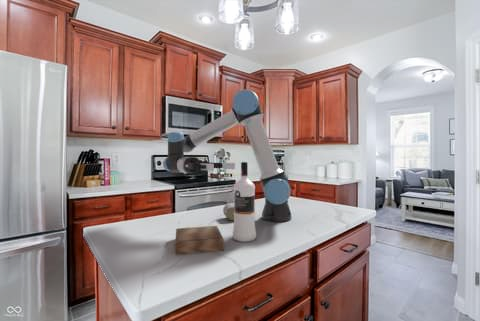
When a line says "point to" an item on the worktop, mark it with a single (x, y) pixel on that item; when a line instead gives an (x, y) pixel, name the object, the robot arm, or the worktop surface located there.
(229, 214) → the ceramic mug
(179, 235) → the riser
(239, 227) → the vodka
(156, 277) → the worktop surface
